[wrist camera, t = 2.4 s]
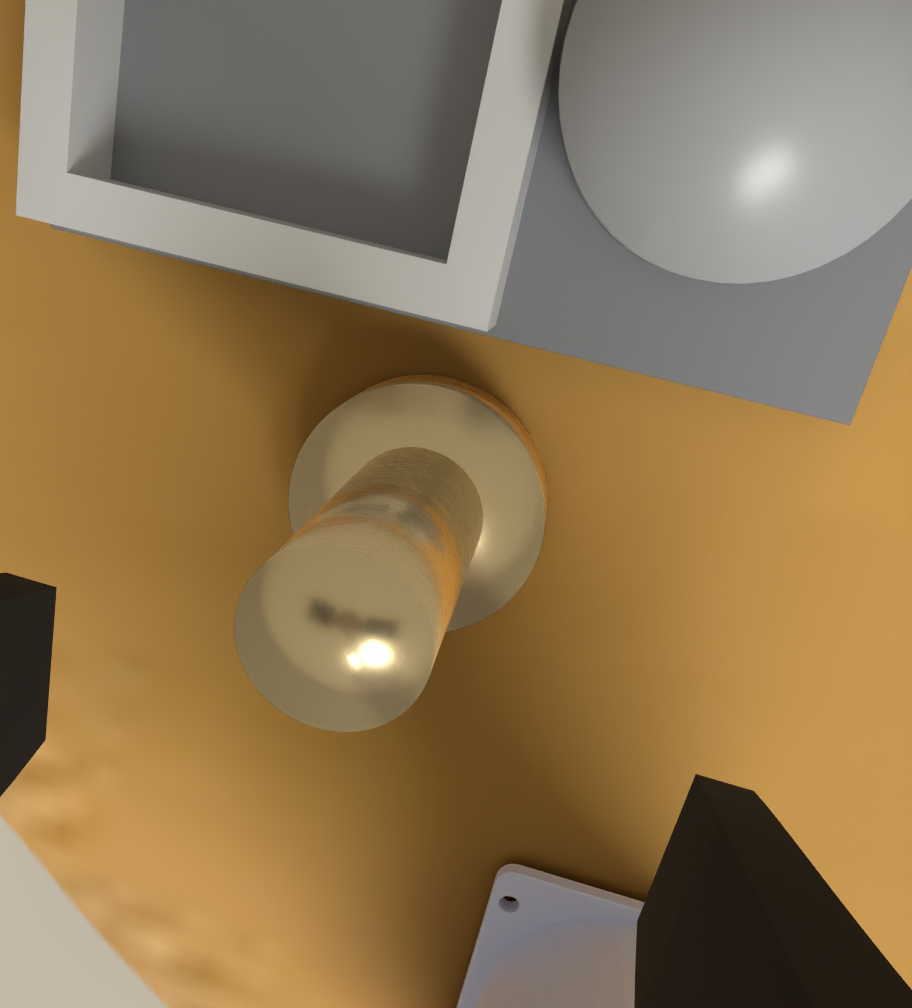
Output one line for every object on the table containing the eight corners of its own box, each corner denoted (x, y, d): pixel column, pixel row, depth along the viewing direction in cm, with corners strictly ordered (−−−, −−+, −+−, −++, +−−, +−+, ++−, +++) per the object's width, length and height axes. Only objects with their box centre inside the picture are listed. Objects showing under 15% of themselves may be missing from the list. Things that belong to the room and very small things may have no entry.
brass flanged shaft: (513, 632, 20) (473, 848, 13) (292, 571, 20) (133, 746, 13) (577, 409, 18) (570, 516, 11) (332, 347, 18) (173, 409, 11)
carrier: (836, 415, 17) (893, 455, 14) (78, 229, 18) (-34, 223, 15) (1051, -150, 14) (1195, -275, 11) (117, -325, 15) (-14, -484, 12)
